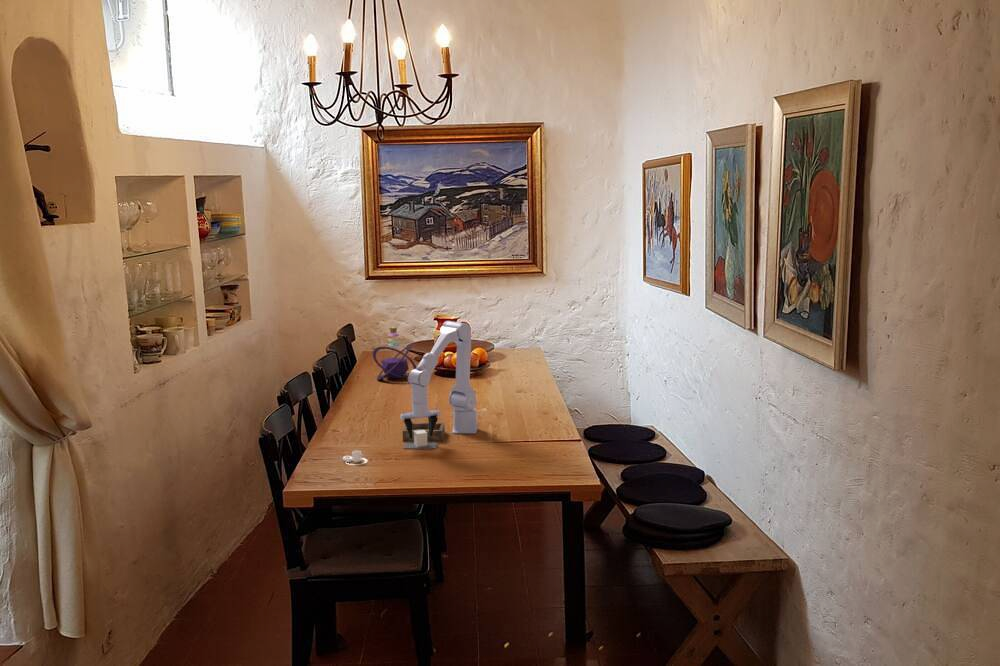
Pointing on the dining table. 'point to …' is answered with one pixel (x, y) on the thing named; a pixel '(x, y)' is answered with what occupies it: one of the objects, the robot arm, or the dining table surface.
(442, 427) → the walnut box
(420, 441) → the cream block
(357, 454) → the teacup and saucer
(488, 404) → the dining table surface
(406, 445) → the charcoal mat
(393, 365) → the decorative bottle
